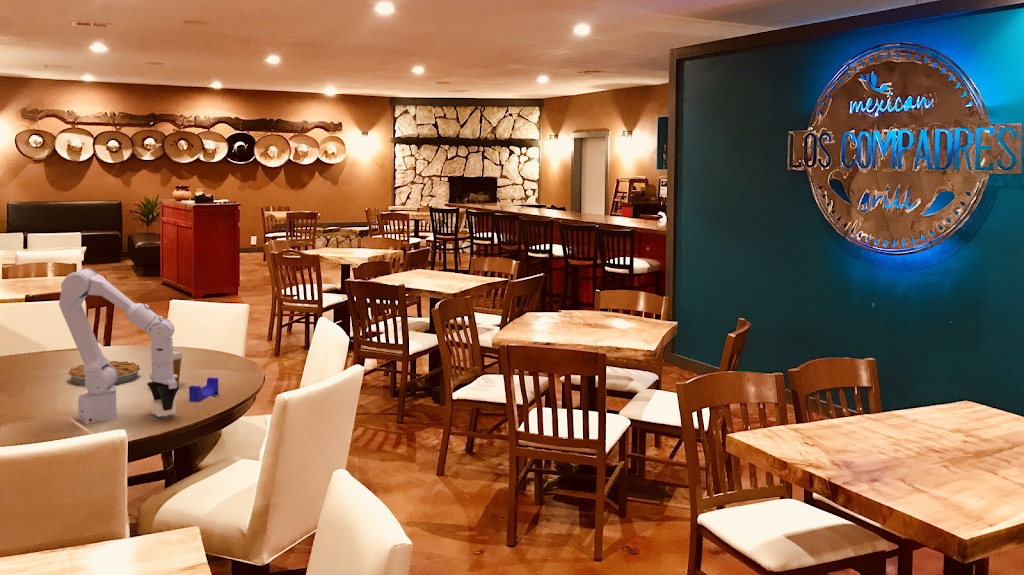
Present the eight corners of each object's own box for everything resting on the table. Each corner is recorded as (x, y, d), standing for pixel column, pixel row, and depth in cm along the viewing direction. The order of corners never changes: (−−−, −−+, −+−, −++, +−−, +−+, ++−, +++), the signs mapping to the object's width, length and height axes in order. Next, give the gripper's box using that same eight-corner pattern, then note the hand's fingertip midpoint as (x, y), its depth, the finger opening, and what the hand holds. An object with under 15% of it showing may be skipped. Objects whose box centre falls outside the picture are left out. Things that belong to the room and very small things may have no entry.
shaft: (163, 417, 232) (163, 410, 232) (160, 415, 234) (159, 408, 234) (167, 417, 233) (167, 409, 233) (163, 414, 235) (163, 407, 235)
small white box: (175, 413, 234) (175, 400, 233) (158, 416, 230) (158, 403, 230) (168, 409, 237) (168, 397, 237) (151, 412, 234) (151, 400, 233)
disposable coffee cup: (164, 382, 274) (163, 348, 273) (189, 384, 272) (188, 350, 271) (146, 389, 265) (145, 354, 263) (172, 392, 263) (171, 356, 262)
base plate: (155, 424, 230) (155, 420, 230) (148, 420, 233) (148, 416, 233) (179, 420, 235) (179, 416, 235) (172, 416, 238) (172, 412, 238)
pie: (105, 391, 262) (104, 376, 262) (53, 383, 269) (53, 368, 269) (154, 376, 283) (154, 362, 282) (105, 369, 290) (105, 355, 289)
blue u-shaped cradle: (205, 394, 262) (205, 377, 261) (218, 396, 261) (218, 378, 260) (185, 405, 250) (184, 386, 249) (198, 406, 250) (198, 387, 249)
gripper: (187, 364, 229) (188, 410, 231) (166, 355, 239) (167, 399, 241) (162, 368, 224) (163, 415, 226) (141, 358, 234) (143, 403, 236)
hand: (163, 407), depth 233 cm, fingers closed on small white box, 5 cm apart
